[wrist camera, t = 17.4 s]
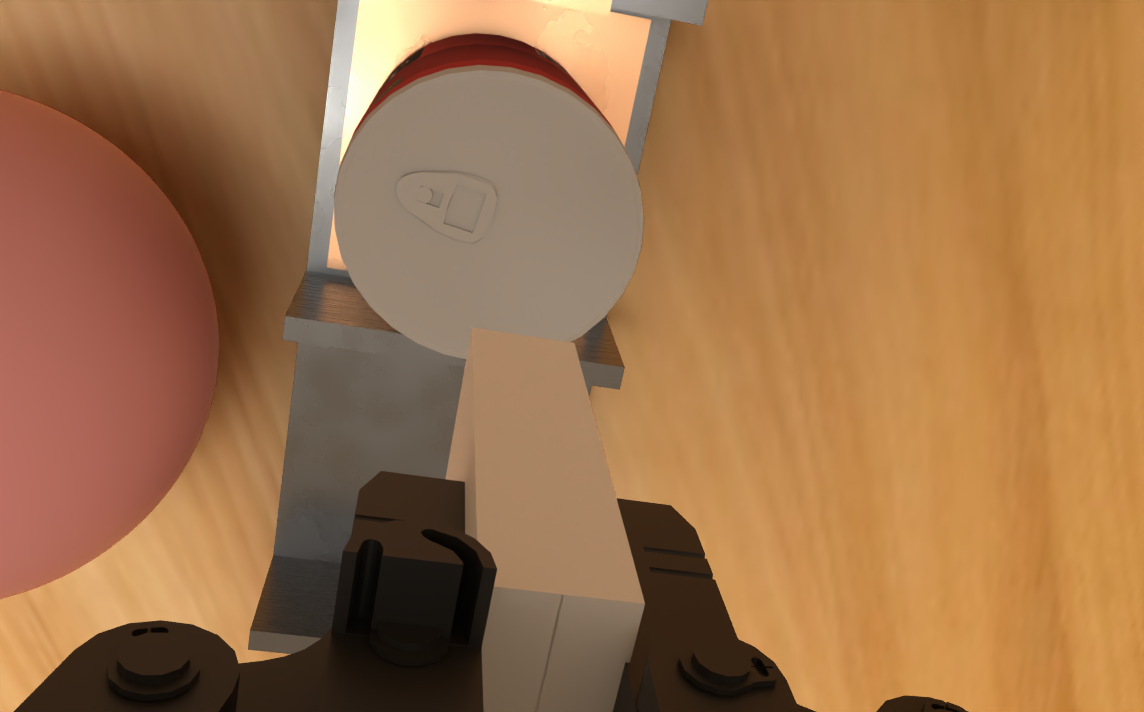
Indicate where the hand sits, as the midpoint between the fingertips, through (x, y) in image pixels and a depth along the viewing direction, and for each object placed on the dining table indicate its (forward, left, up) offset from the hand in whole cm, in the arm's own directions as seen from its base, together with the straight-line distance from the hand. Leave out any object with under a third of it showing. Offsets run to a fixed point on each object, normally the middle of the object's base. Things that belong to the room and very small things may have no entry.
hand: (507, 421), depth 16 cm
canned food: (0, 0, -24) cm, 24 cm away
